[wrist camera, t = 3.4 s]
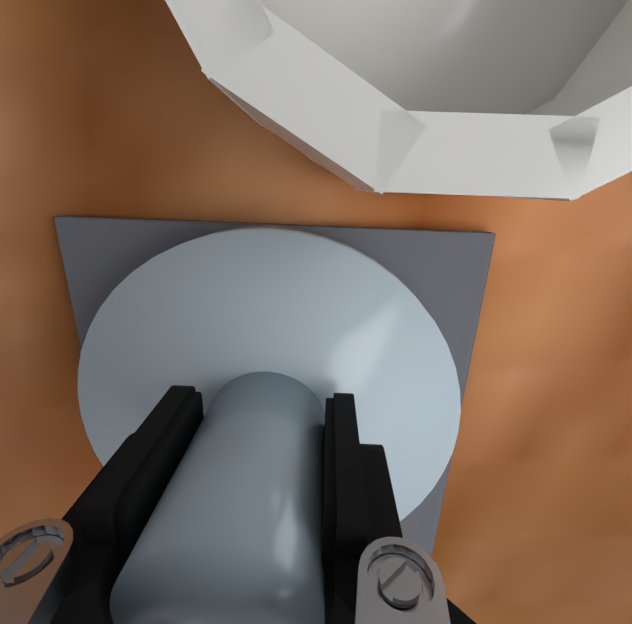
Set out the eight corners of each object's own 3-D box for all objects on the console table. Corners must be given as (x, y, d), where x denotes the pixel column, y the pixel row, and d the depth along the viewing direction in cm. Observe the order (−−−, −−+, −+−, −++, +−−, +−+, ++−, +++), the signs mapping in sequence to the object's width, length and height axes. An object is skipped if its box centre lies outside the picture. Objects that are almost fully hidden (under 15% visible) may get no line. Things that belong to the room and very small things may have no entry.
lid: (422, 534, 13) (496, 810, 7) (128, 518, 13) (-26, 775, 8) (477, 232, 10) (711, 307, 4) (71, 217, 10) (-312, 264, 4)
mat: (429, 544, 14) (431, 554, 14) (125, 528, 14) (119, 537, 14) (489, 232, 10) (495, 233, 10) (64, 215, 10) (53, 217, 10)
